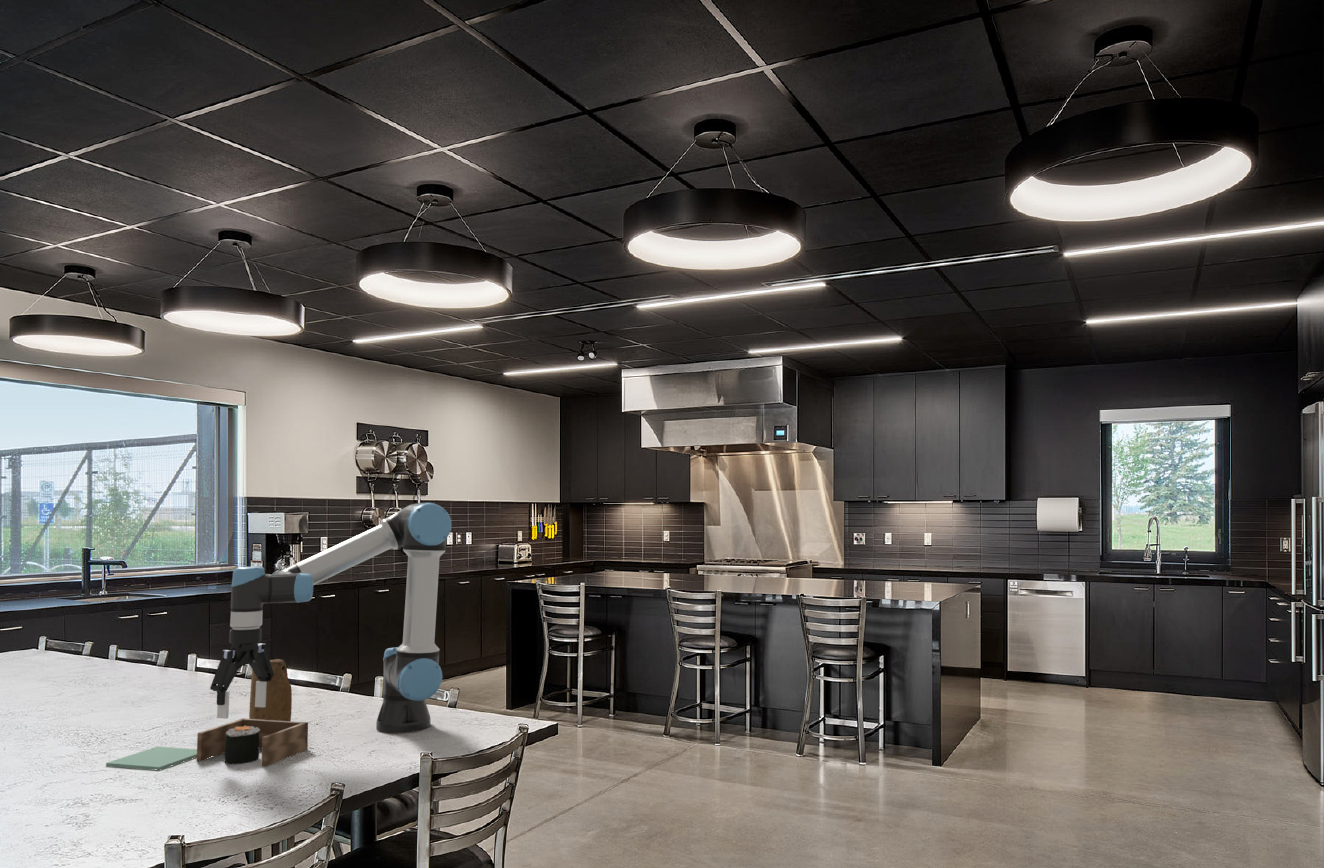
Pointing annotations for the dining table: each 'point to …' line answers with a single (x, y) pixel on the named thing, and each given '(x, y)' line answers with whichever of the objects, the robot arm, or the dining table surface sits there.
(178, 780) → the dining table surface
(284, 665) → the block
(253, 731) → the sushi
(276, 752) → the frame
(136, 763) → the mat
